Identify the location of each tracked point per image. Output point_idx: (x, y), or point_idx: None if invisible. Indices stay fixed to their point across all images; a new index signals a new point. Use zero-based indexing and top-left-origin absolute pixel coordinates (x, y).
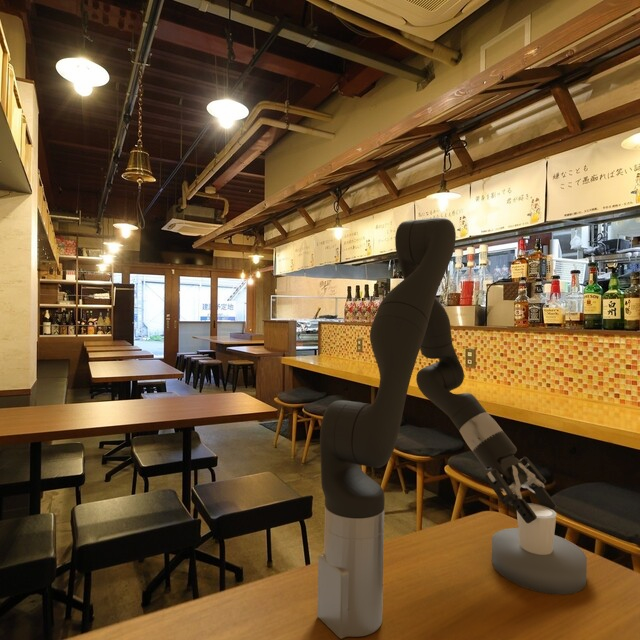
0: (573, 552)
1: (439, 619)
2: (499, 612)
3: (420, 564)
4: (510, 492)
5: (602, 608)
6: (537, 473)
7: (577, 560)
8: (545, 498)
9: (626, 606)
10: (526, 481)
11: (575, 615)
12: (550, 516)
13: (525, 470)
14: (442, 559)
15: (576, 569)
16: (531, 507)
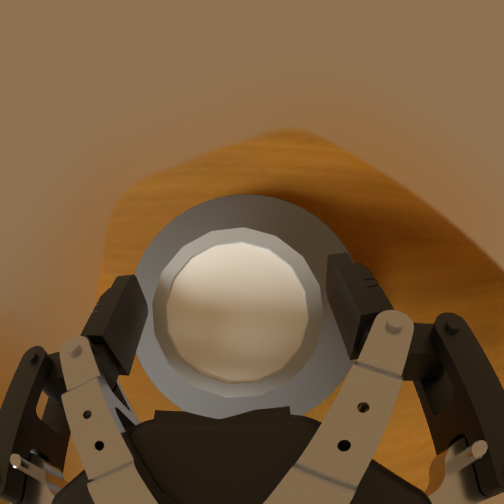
0: (185, 241)
1: (497, 296)
2: (435, 261)
3: None
4: (459, 338)
5: (273, 170)
6: (23, 396)
7: (220, 214)
8: (124, 318)
9: (230, 154)
10: (180, 411)
11: (336, 186)
12: (246, 237)
13: (110, 462)
14: (388, 435)
15: (266, 196)
16: (218, 345)
